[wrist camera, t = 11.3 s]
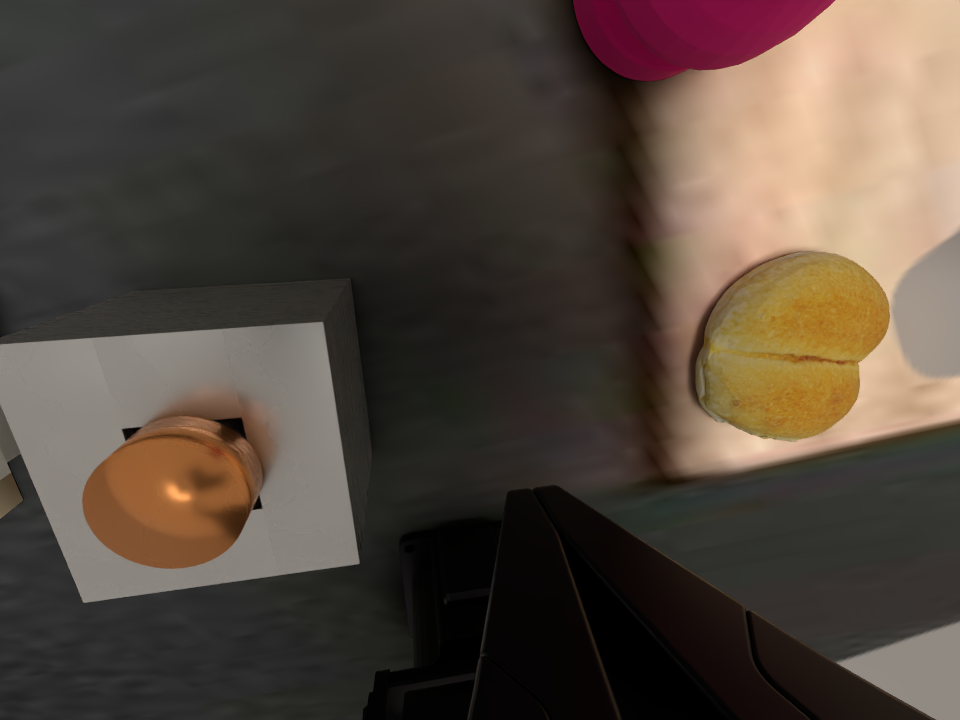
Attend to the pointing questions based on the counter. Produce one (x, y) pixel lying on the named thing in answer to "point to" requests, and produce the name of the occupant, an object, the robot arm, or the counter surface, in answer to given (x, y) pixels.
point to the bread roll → (790, 345)
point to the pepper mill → (687, 32)
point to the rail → (8, 494)
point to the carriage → (6, 445)
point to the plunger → (175, 492)
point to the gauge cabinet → (206, 394)
